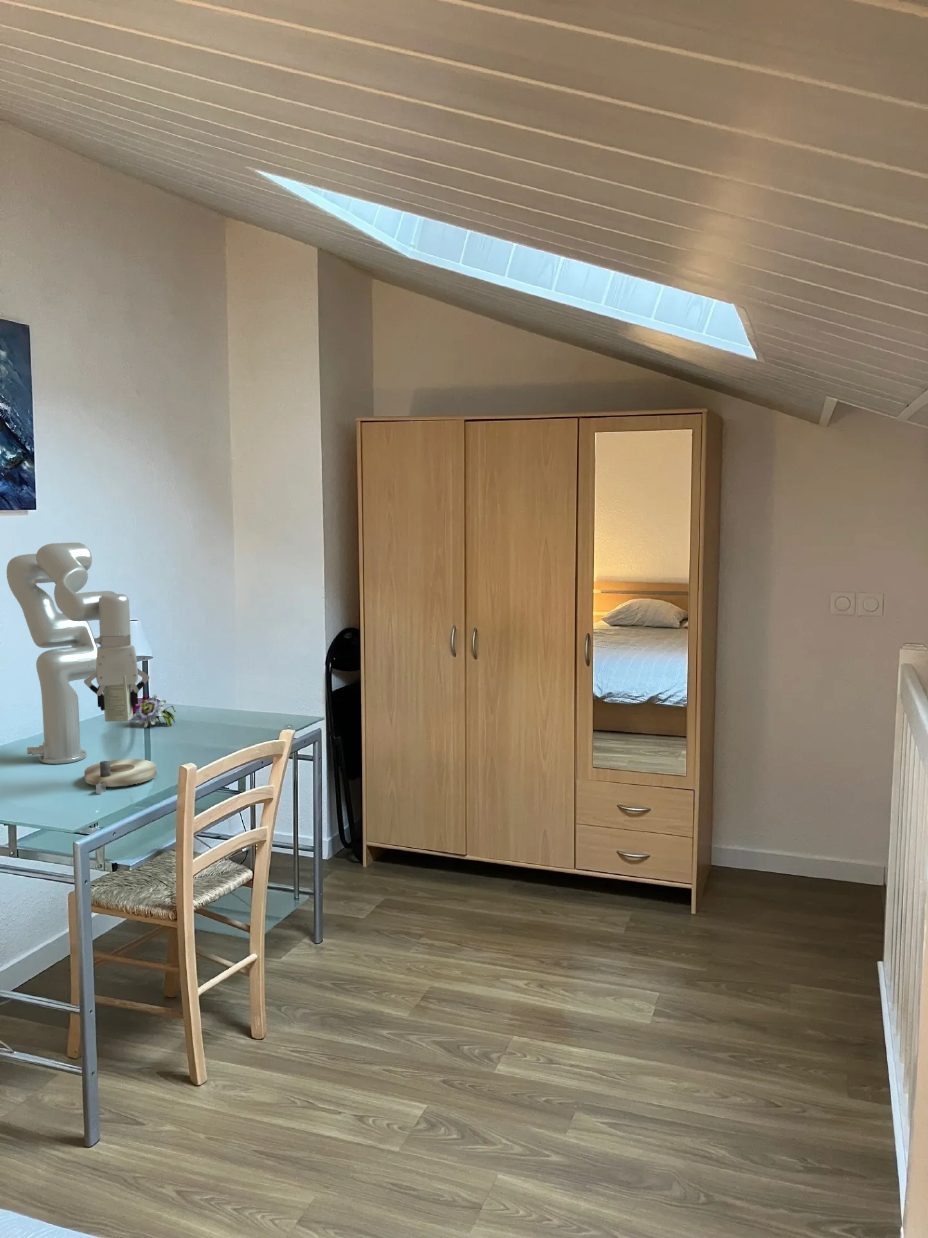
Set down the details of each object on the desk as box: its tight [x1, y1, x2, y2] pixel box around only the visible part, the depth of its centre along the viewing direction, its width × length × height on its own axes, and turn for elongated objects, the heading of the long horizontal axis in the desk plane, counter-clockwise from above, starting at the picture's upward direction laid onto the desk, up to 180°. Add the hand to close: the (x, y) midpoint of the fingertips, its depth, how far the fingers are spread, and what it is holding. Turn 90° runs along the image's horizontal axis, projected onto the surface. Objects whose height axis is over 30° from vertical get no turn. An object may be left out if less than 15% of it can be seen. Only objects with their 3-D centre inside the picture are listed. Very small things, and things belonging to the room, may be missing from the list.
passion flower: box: [133, 693, 177, 729], centre depth 321 cm, size 11×11×12 cm
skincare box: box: [102, 676, 134, 723], centre depth 258 cm, size 6×4×12 cm
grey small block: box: [95, 781, 107, 795], centre depth 249 cm, size 4×1×2 cm, turn 175°
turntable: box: [84, 758, 158, 788], centre depth 260 cm, size 18×18×6 cm
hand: (118, 707), depth 258 cm, fingers closed on skincare box, 7 cm apart
